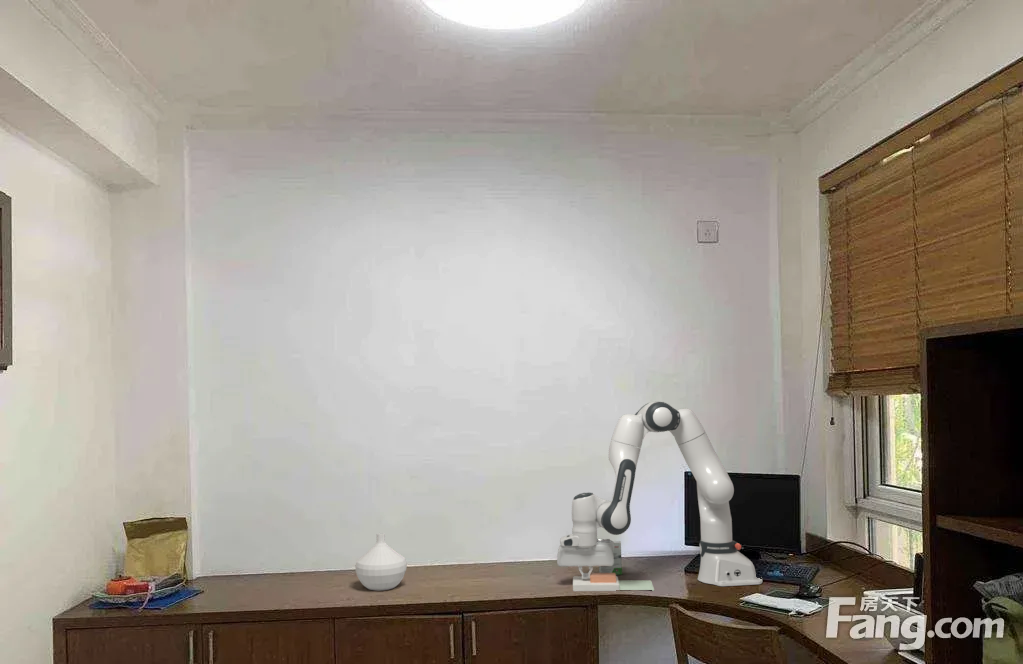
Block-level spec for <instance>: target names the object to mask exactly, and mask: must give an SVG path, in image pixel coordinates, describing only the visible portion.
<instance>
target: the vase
mask: <svg viewBox="0 0 1023 664" xmlns="http://www.w3.org/2000/svg"><path fill="white" fill-rule="evenodd" d="M407 565H408V563H407V560H406V557H404V556H403V555H402V554H400V553H399V552H397V551H396V550H394V548H392V547H391V546H390V545H388V544H387V541H386V533H385V532H379V533H376V542H375V544H374V545H373V546H372V547H371V548H370V549H369V550H368V551H366V552H365V553H364V554H363V555H362V556H361V557H360V558H358V559H357V560H356V563H355V568H354V569H355V574H356V576H357V578H358V580H359V582H360V583H361V584H362V586H364V588H366V589H367V590H371V591H389V590H392V589H394V588H396V587H397V586H398V585H400V583H401V582H402V580H403V579H404V577H405V573H406V571H407V568H408V567H407Z"/></svg>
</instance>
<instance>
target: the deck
mask: <svg viewBox="0 0 1023 664" xmlns="http://www.w3.org/2000/svg"><path fill="white" fill-rule="evenodd" d="M618 581H619V577H618V575H616V583H590V579H582V575H574V576H572V591H573V592H617V591H616V590H619V582H618Z"/></svg>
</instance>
